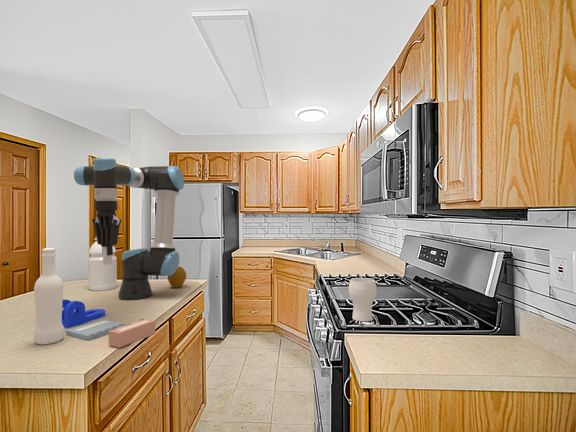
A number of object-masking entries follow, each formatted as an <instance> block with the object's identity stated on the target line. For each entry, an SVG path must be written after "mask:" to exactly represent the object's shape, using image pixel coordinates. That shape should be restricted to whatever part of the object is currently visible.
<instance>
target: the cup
mask: <svg viewBox="0 0 576 432" xmlns="http://www.w3.org/2000/svg"><path fill="white" fill-rule="evenodd" d="M377 289H378V288H377V283H376V280H375V279H373V278H368V277H355V278H350V280H349V284H348V294H349V298H350V299H351V302H352V306H353V309H352V310H353V311H352V318H351V319H352V320H354V321H357V322H371V321H373V312H372V311H373V310H372V309H373V302H374V301H375V298H376V296H377V292H378V291H377Z"/></svg>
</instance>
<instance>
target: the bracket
mask: <svg viewBox="0 0 576 432" xmlns="http://www.w3.org/2000/svg"><path fill="white" fill-rule="evenodd" d="M105 316H106V309H104V308H93V309H88V310H86V306H85V303H84V302H82V301H80V300H70V299H64V298H63V302H62V324H63V327H64V329H72V328H75V327H78V326H81V325H84V324H88V323H91V322H92V321H95V320H98V319H99V320H100V319H102V318H104V317H105Z"/></svg>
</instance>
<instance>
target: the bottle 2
mask: <svg viewBox="0 0 576 432" xmlns="http://www.w3.org/2000/svg"><path fill="white" fill-rule="evenodd" d="M116 252H117V250H116V247H115V245H113V255H112V264H107V265H104V264H103V254H102V246H101V245H100V244H98V243H97V238H96V237H95V242H93V243H92V245H91V246H90V248H89V250H88V254H89V255H90V256H89V258H88V259H87V264H88V265H87V268H88V269H87V270H88V272H87V274H88V275H87V276H88V278H87V280H88V283H87V287H88V290H89V291H95V292H97V291H100V292H101V291H108V290H113V289H115V288H117V286H118V281H117V279H118V275H117V274H118V272H117V269H118V267H117V266H118V265H117V263H118V261H117V260H118V257H117V256H116V255H115V254H116Z"/></svg>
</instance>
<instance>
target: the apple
mask: <svg viewBox="0 0 576 432" xmlns="http://www.w3.org/2000/svg"><path fill="white" fill-rule="evenodd" d="M186 279H187V272H186V270H185V269H184V267H182V266H178V268H177V270H176V272H175V273H174V274H173V275H170V276H167V280H168V284H169V286H170V287H172V288H174V289H177V288H181V287H182V286H183V285H184V283H185V281H186Z"/></svg>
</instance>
